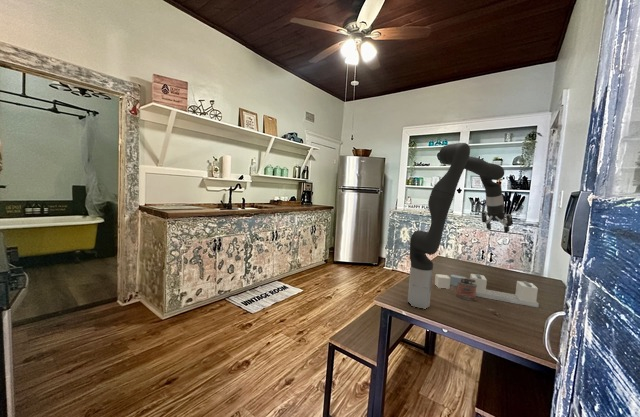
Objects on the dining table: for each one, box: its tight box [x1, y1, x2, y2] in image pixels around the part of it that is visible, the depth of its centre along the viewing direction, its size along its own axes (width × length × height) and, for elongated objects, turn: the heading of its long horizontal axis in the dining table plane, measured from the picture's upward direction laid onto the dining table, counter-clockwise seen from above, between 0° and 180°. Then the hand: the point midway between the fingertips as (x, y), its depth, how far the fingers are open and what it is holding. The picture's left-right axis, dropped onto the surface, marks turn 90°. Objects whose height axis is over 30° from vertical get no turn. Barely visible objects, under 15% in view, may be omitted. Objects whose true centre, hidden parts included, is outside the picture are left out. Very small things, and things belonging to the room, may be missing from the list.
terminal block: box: [450, 274, 467, 287], centre depth 139 cm, size 4×7×5 cm, turn 57°
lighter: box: [456, 277, 477, 302], centre depth 122 cm, size 8×3×10 cm, turn 62°
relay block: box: [434, 273, 451, 290], centre depth 136 cm, size 5×6×6 cm
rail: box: [475, 288, 540, 308], centre depth 125 cm, size 7×28×2 cm, turn 67°
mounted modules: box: [469, 273, 539, 303], centre depth 124 cm, size 7×26×8 cm, turn 67°
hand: (497, 230), depth 136 cm, fingers open, 8 cm apart
